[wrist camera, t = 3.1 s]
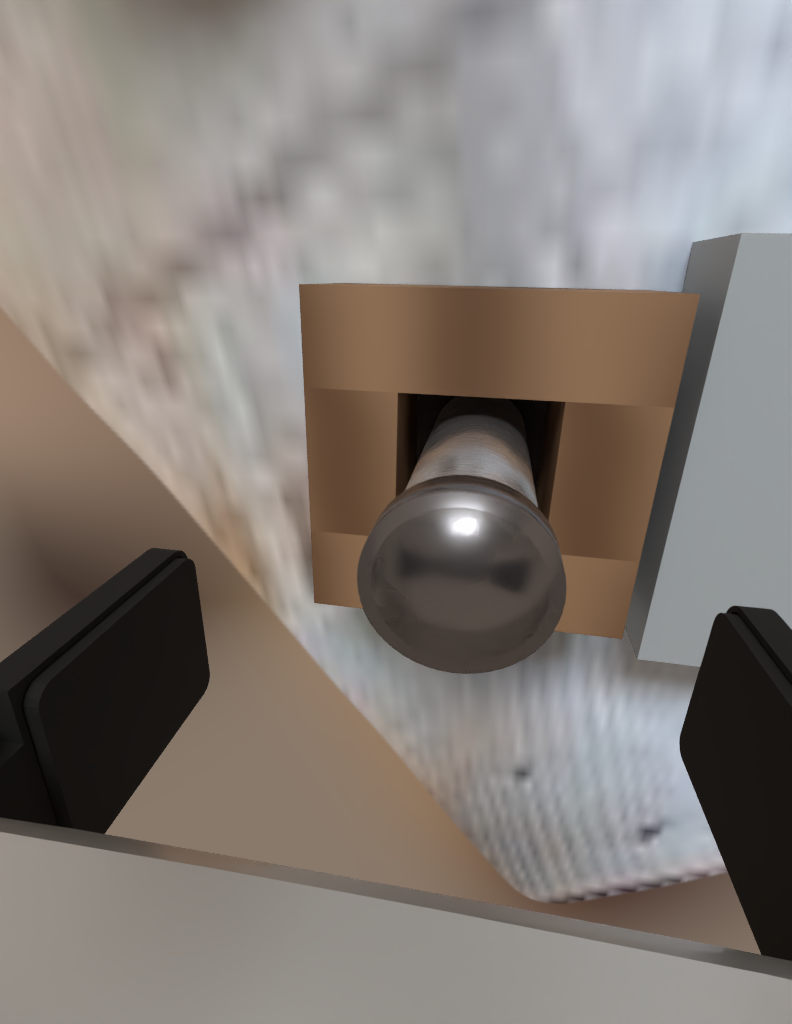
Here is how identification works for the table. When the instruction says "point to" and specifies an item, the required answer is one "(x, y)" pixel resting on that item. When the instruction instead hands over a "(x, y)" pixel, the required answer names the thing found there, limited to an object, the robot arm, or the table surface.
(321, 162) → the table surface
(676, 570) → the socket block
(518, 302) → the mount block
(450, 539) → the lock pin
